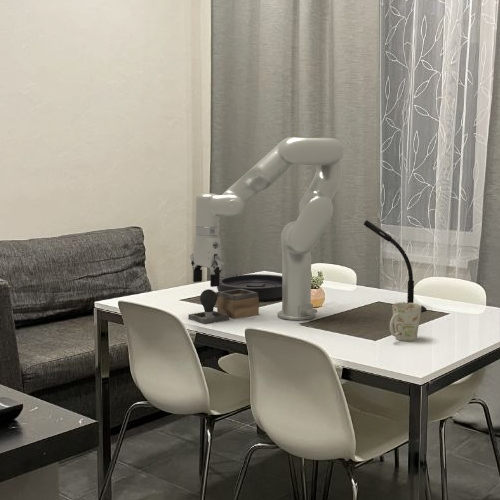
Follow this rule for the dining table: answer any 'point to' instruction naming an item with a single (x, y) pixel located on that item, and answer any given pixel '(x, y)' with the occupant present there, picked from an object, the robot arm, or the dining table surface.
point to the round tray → (254, 285)
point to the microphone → (387, 237)
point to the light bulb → (208, 302)
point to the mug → (405, 321)
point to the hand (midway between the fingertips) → (206, 284)
